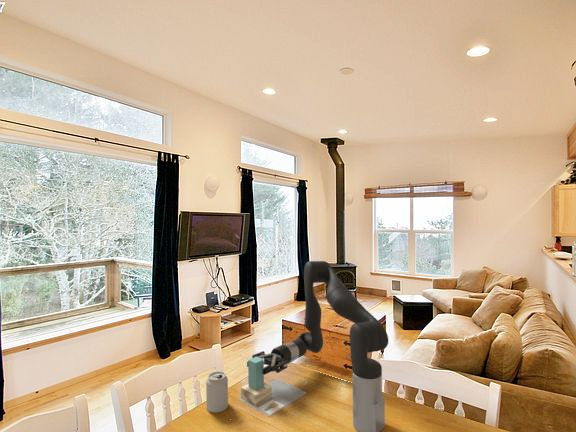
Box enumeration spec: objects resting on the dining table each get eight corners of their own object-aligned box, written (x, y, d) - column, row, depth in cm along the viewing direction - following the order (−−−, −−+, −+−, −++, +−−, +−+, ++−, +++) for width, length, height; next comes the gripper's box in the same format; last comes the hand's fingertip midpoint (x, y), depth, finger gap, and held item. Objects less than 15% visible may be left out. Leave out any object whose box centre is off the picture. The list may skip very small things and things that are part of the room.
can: (225, 415, 115) (225, 380, 115) (204, 415, 115) (203, 380, 115) (230, 402, 122) (229, 369, 122) (209, 402, 122) (209, 369, 122)
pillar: (263, 386, 124) (263, 359, 124) (255, 390, 121) (255, 363, 121) (256, 382, 127) (256, 356, 127) (248, 386, 124) (248, 359, 124)
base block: (271, 397, 124) (271, 386, 124) (255, 406, 118) (255, 395, 118) (257, 389, 130) (257, 379, 130) (241, 397, 124) (240, 387, 124)
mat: (307, 394, 127) (307, 392, 127) (269, 419, 112) (269, 416, 112) (277, 380, 138) (277, 378, 138) (238, 401, 123) (238, 398, 123)
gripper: (272, 340, 140) (242, 352, 128) (298, 349, 131) (268, 363, 119) (273, 358, 140) (242, 372, 128) (298, 368, 131) (268, 384, 119)
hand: (255, 368), depth 124 cm, fingers open, 8 cm apart
